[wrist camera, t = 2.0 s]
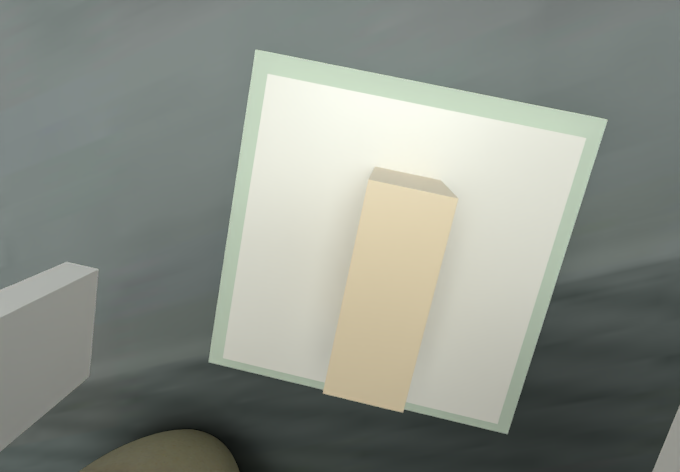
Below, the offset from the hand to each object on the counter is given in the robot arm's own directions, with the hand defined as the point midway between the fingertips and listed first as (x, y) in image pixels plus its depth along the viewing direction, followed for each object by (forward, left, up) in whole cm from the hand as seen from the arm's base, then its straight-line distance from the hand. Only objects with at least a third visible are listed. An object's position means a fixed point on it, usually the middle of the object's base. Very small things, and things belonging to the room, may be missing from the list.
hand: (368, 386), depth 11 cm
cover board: (0, 0, -13) cm, 13 cm away
